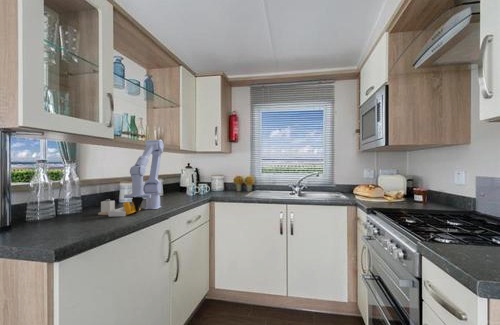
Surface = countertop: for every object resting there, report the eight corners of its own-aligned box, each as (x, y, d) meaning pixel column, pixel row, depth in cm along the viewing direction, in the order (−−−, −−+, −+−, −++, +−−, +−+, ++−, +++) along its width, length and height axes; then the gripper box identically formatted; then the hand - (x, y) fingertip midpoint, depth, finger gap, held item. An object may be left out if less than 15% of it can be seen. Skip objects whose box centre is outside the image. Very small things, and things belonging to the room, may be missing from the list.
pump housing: (105, 212, 144) (105, 198, 145) (117, 212, 144) (117, 198, 145) (98, 214, 137) (98, 200, 138) (110, 214, 137) (110, 200, 138)
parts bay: (124, 210, 150) (124, 206, 150) (139, 210, 150) (139, 206, 150) (108, 216, 132) (108, 211, 132) (125, 216, 132) (125, 211, 132)
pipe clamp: (133, 211, 146) (130, 201, 146) (140, 209, 146) (137, 199, 146) (123, 215, 134) (119, 204, 134) (130, 213, 134) (127, 201, 134)
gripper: (121, 187, 137) (121, 212, 137) (147, 187, 137) (147, 211, 137) (127, 186, 144) (127, 209, 144) (152, 186, 144) (152, 209, 144)
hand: (137, 210), depth 141 cm, fingers closed
